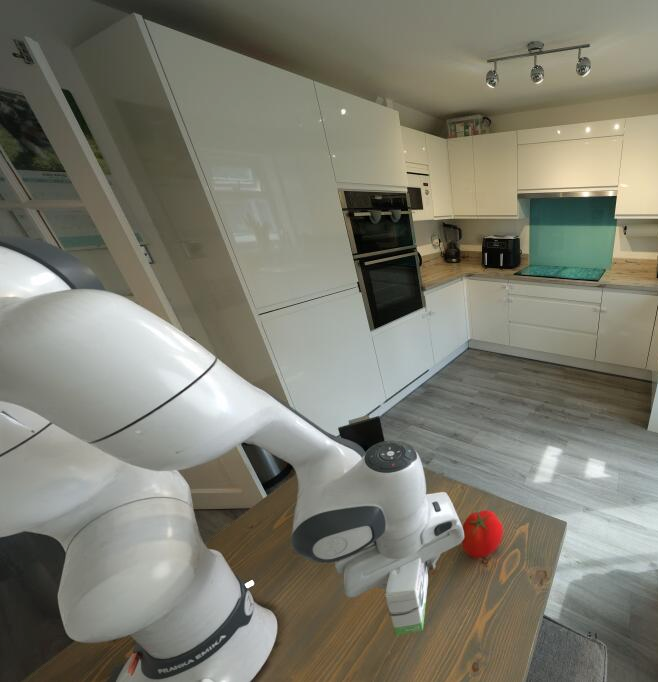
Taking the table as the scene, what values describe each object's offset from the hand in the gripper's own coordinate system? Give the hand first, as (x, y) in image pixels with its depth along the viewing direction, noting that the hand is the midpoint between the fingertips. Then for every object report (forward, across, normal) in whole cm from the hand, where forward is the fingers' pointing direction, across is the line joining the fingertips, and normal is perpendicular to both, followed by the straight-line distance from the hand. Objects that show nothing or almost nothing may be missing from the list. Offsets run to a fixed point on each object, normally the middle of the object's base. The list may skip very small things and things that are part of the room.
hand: (411, 576), depth 57 cm
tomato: (+11, +17, +6) cm, 21 cm away
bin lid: (-6, -3, +35) cm, 35 cm away
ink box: (+5, -1, -2) cm, 6 cm away
